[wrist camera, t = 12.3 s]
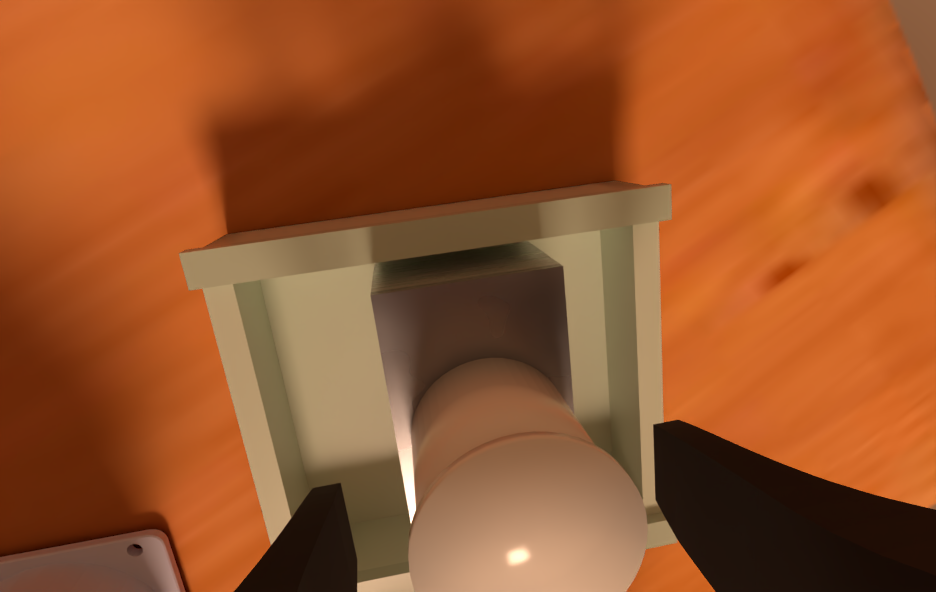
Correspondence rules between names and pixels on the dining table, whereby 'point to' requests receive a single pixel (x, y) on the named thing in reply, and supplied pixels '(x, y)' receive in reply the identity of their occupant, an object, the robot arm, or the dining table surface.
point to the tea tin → (466, 323)
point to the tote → (359, 358)
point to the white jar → (516, 490)
